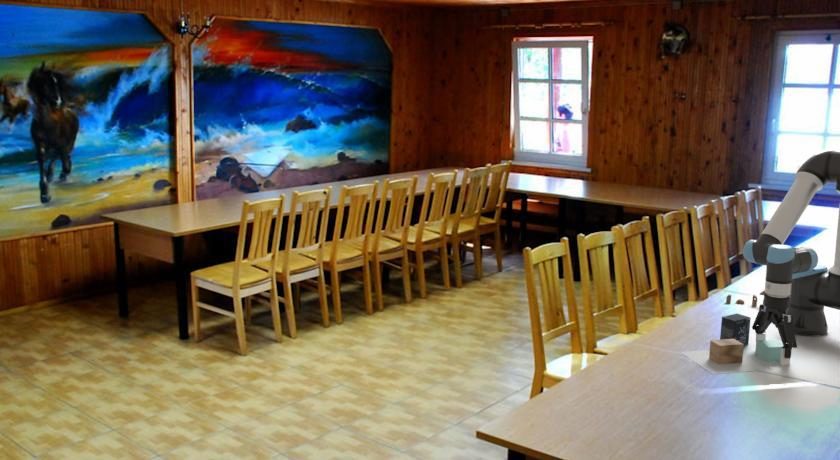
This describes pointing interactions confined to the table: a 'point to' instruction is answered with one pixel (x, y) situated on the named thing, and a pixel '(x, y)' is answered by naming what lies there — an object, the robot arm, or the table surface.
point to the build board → (714, 368)
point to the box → (735, 328)
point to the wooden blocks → (754, 302)
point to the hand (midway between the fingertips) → (771, 360)
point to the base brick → (726, 351)
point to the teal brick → (769, 349)
